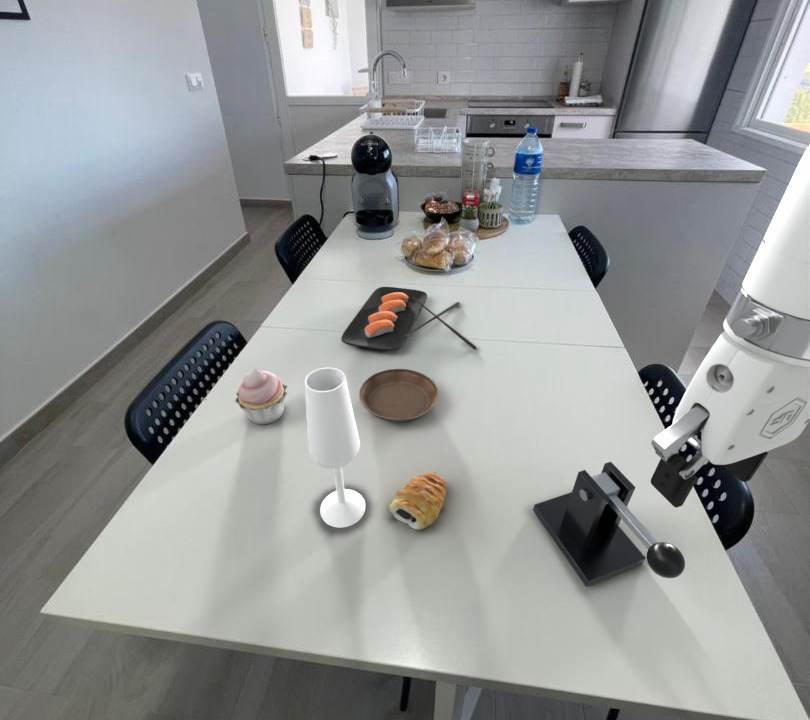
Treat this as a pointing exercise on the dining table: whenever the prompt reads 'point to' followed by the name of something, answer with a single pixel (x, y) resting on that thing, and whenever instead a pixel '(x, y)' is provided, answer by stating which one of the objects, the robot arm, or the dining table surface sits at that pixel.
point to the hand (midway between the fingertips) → (699, 481)
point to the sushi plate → (390, 319)
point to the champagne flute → (333, 441)
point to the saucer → (398, 394)
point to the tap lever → (644, 534)
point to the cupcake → (262, 396)
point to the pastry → (419, 501)
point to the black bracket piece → (591, 527)
